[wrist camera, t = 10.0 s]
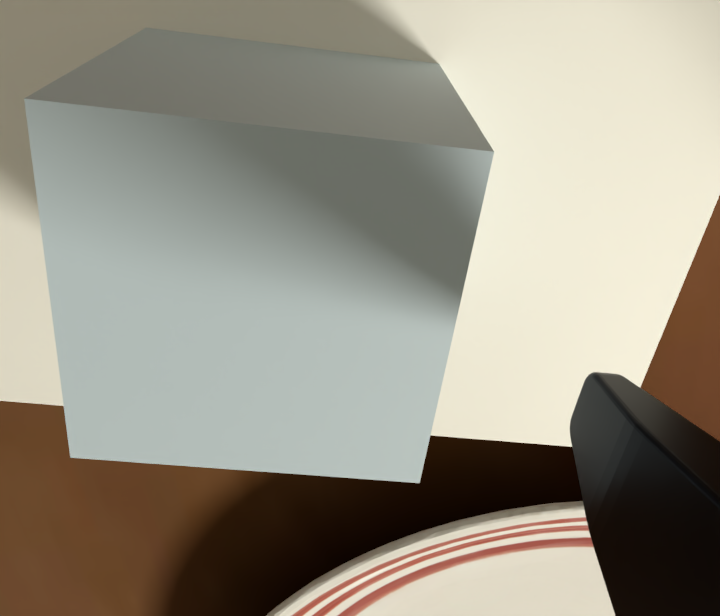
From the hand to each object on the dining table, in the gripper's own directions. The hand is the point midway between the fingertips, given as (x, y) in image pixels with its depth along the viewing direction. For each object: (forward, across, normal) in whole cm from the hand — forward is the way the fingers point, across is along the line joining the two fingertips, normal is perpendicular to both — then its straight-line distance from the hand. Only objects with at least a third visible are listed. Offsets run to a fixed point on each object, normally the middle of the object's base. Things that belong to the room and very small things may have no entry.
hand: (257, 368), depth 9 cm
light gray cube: (+7, 0, 0) cm, 7 cm away
